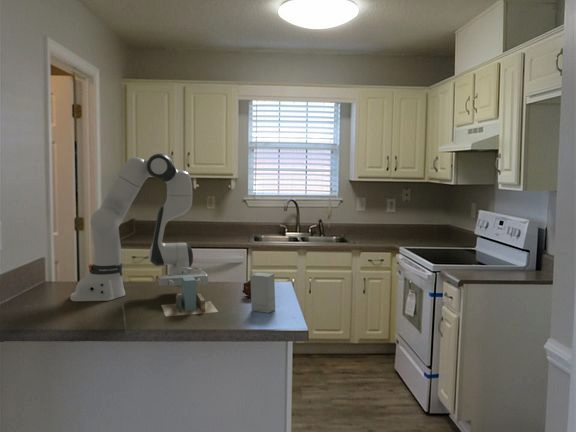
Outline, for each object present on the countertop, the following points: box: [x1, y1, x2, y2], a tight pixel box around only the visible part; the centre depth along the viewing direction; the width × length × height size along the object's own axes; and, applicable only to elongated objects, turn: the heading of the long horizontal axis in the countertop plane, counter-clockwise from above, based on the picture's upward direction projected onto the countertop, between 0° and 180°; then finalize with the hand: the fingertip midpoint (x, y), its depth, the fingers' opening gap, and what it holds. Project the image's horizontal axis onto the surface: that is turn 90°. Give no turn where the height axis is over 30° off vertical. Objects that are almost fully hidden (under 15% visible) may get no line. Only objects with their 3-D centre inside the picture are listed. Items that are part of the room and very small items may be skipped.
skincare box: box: [249, 272, 276, 314], centre depth 198 cm, size 8×6×15 cm
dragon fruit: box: [242, 279, 251, 299], centre depth 220 cm, size 8×8×12 cm
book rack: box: [161, 292, 219, 317], centre depth 196 cm, size 20×16×6 cm
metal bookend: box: [175, 294, 181, 313], centre depth 195 cm, size 1×10×4 cm, turn 20°
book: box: [181, 276, 197, 311], centre depth 196 cm, size 4×7×12 cm, turn 20°
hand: (186, 283), depth 202 cm, fingers open, 8 cm apart
